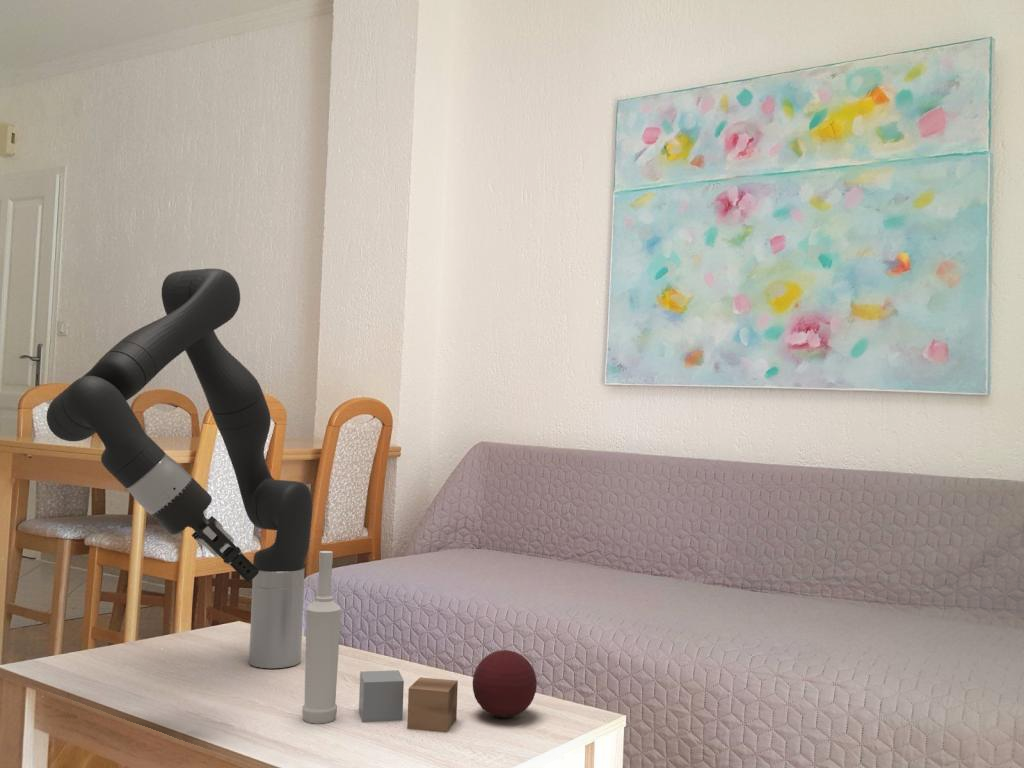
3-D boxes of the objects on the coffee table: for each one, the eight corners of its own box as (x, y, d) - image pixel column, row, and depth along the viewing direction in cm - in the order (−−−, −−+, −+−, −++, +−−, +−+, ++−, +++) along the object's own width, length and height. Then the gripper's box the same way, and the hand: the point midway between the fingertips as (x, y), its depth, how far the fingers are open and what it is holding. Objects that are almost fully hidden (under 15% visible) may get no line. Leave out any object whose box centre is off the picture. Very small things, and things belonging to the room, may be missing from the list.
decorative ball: (458, 717, 143) (460, 651, 143) (496, 702, 151) (498, 640, 152) (511, 731, 137) (513, 663, 138) (548, 715, 145) (550, 650, 146)
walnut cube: (418, 716, 143) (419, 677, 143) (456, 720, 142) (457, 680, 142) (407, 729, 137) (408, 688, 137) (446, 733, 136) (447, 691, 136)
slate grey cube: (358, 710, 145) (360, 671, 145) (397, 708, 146) (398, 670, 147) (362, 722, 139) (363, 682, 139) (402, 721, 141) (403, 680, 141)
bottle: (343, 715, 142) (349, 551, 143) (325, 726, 137) (332, 555, 138) (313, 711, 143) (320, 548, 144) (294, 721, 139) (302, 552, 139)
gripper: (196, 478, 126) (277, 560, 131) (184, 471, 139) (259, 546, 144) (152, 518, 124) (237, 600, 128) (145, 507, 137) (222, 582, 141)
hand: (248, 572), depth 136 cm, fingers open, 8 cm apart
